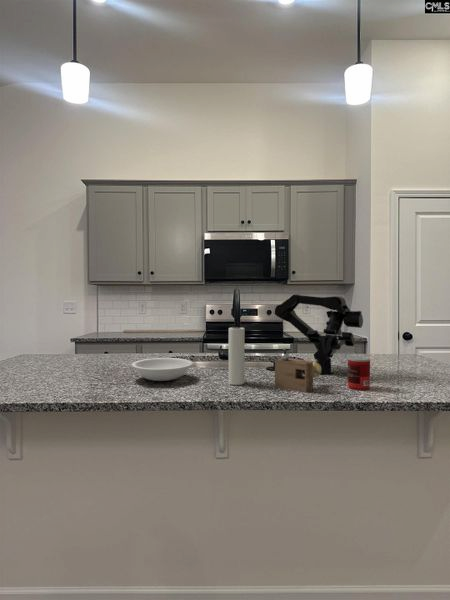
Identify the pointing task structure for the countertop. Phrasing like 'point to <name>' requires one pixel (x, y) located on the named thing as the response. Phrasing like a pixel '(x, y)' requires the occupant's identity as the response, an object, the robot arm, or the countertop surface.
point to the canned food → (358, 373)
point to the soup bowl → (162, 368)
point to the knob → (315, 369)
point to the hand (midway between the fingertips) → (324, 354)
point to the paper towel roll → (236, 355)
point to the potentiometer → (284, 356)
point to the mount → (294, 375)
